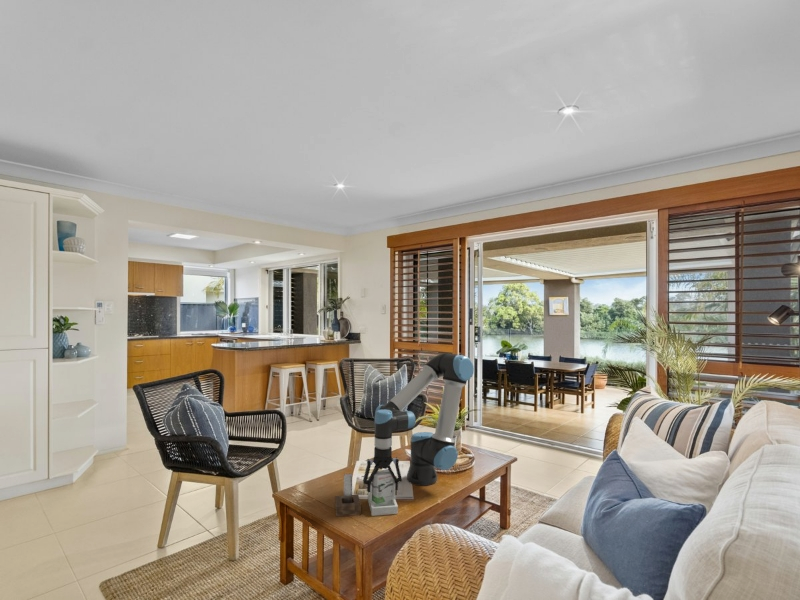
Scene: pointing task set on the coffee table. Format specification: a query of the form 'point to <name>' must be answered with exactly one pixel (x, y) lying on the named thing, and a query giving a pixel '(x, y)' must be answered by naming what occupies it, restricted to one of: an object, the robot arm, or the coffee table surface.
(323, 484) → the coffee table surface
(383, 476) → the ink box
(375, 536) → the coffee table surface
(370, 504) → the tray
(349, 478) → the cylinder
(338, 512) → the hollow square tube
